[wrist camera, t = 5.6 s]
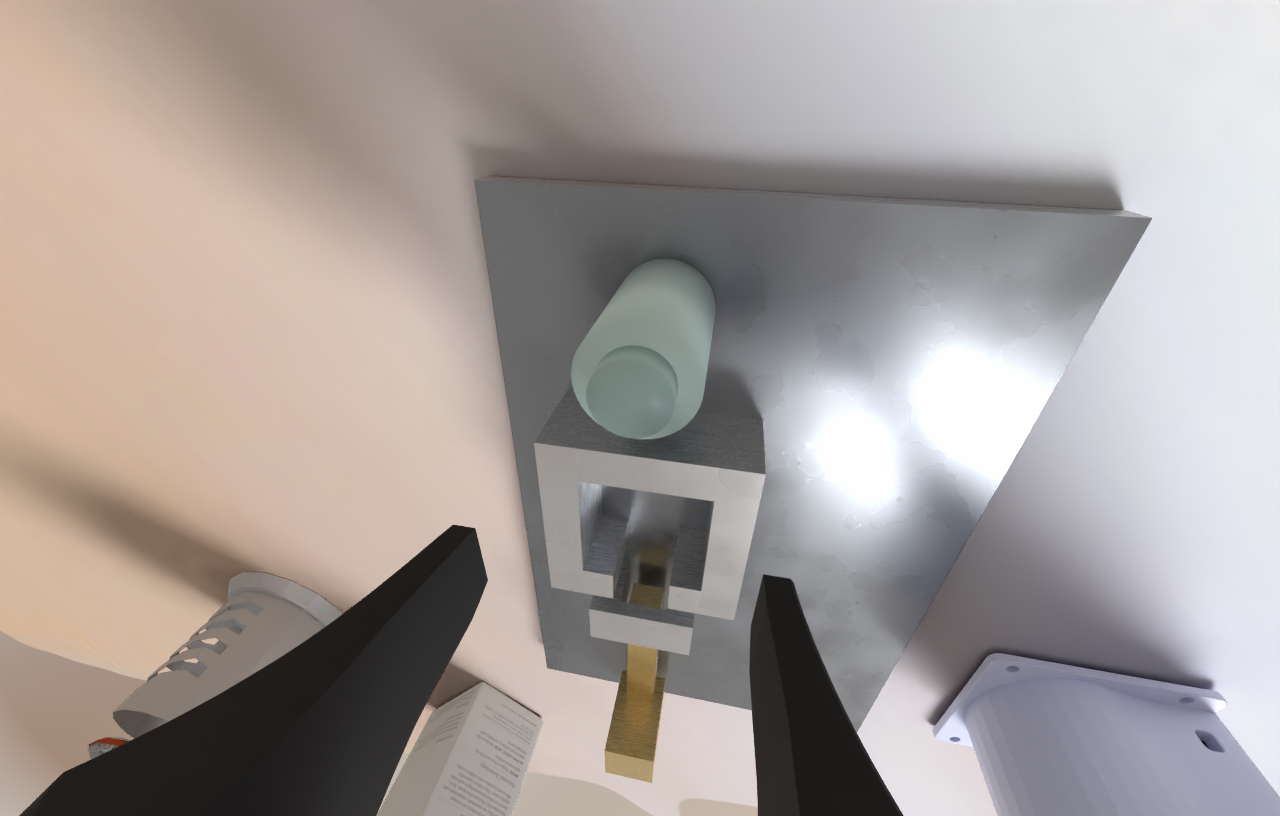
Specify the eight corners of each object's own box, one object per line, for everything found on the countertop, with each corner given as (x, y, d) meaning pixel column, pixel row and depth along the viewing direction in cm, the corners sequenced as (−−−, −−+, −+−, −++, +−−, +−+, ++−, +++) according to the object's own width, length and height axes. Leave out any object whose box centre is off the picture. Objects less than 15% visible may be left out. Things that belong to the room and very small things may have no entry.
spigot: (720, 262, 14) (709, 342, 10) (710, 358, 16) (695, 467, 11) (617, 254, 15) (555, 327, 10) (617, 348, 17) (564, 449, 12)
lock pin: (674, 590, 22) (661, 676, 19) (663, 700, 27) (651, 782, 24) (623, 581, 22) (601, 664, 19) (622, 691, 28) (605, 772, 24)
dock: (1125, 210, 13) (1259, 248, 9) (853, 712, 27) (868, 796, 24) (489, 176, 15) (418, 196, 12) (552, 652, 30) (528, 721, 27)
